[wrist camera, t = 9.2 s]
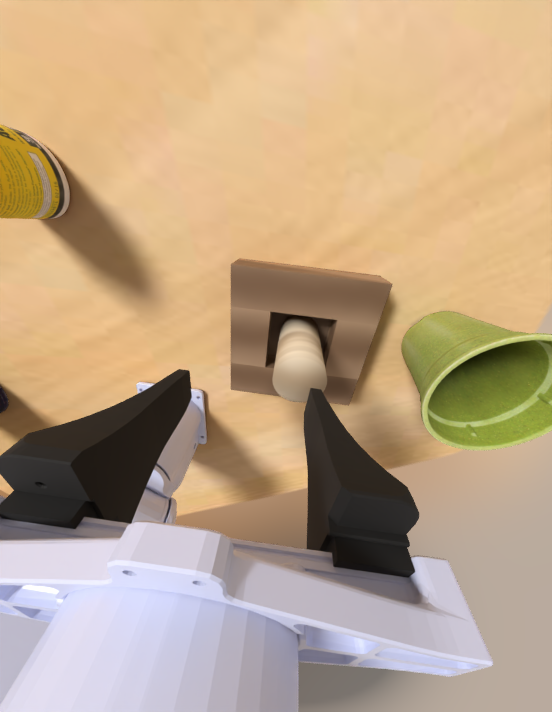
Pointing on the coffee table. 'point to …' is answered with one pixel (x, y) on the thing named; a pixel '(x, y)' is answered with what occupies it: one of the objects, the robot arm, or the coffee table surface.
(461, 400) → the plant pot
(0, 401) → the storage jar
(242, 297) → the socket block
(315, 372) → the pin
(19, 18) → the coffee table surface
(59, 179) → the supplement bottle
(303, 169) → the coffee table surface
